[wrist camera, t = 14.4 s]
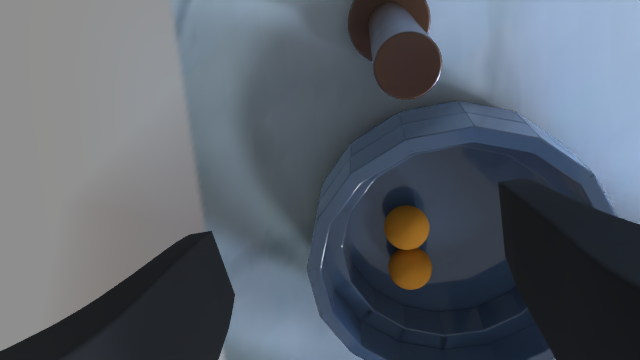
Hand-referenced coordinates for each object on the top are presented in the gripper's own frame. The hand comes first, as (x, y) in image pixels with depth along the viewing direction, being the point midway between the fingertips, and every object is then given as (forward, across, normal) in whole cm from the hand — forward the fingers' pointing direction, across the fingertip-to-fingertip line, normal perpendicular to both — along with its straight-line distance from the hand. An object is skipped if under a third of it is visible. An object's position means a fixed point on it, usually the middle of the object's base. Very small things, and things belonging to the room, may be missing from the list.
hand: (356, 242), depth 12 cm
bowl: (+10, -3, +6) cm, 12 cm away
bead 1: (+9, -1, +5) cm, 10 cm away
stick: (+10, -2, -4) cm, 11 cm away
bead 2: (+9, -1, +7) cm, 11 cm away
